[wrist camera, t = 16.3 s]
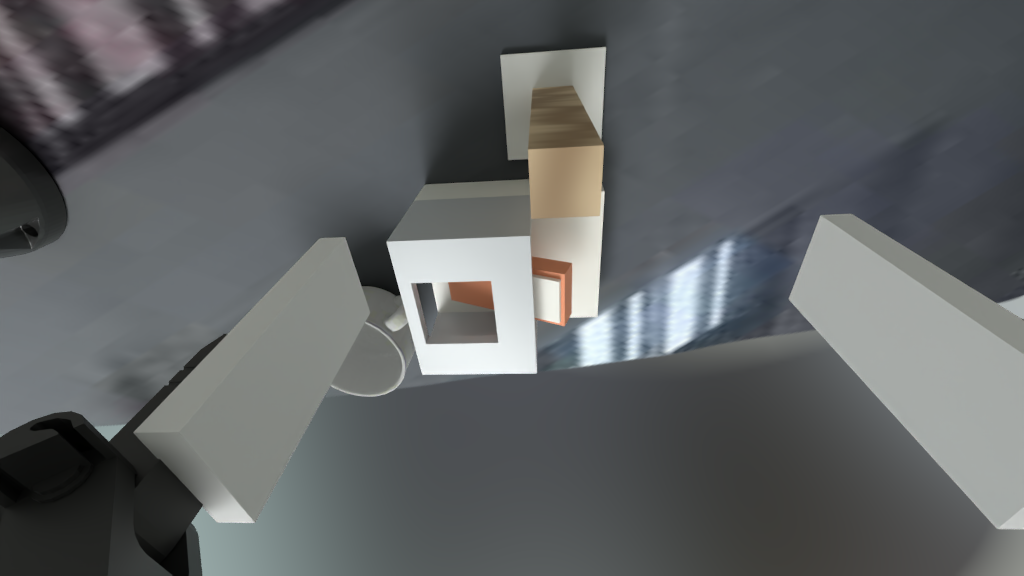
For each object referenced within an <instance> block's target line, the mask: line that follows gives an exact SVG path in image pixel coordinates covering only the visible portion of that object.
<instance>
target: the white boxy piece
mask: <svg viewBox="0 0 1024 576" xmlns="http://www.w3.org/2000/svg"><path fill="white" fill-rule="evenodd" d="M604 194H605V191H604V188H603V186H602V190H601V208H600V216H589V217H565V218H541V219H531V205H530V183H529V179H522V180H502V181H483V182H464V183H444V184H425V185H424V187H423V188H422V190H421V191H420V193H419V194H418V196H417V197H416V199H415V200H414V201H413V203H412V204H411V206H410V207H409V209H408V210H407V212H406V213H405V215H404V216H403V218H402V219H401V221H400V222H399V224H398V225H397V227H396V228H395V230H394V231H393V233H392V234H391V236H390V237H389V238H388V240H387V241H386V242H387V246H388V250H389V253H390V257H391V261H392V264H393V268H394V272H395V275H396V279H397V283H398V287H399V290H400V294H401V298H402V301H403V305H404V309H405V312H406V316H407V320H408V323H409V327H410V331H411V334H412V338H413V342H414V346H415V349H416V353H417V357H418V360H419V364H420V368H421V371H422V375H433V374H520V373H537V320H536V319H535V316H534V296H533V275H532V256H533V257H539V258H545V259H551V260H557V261H563V262H569V263H572V314H571V315H570V317H597V312H598V295H599V278H600V262H601V245H602V228H603V211H604ZM470 281H491V285H492V293H493V302H494V310H492V309H488V308H484V307H479V306H475V305H471V304H466V303H462V302H458V301H453V300H451V294H450V289H449V284H448V282H470ZM416 283H432V286H433V291H434V295H435V300H436V305H437V309H438V315H437V318H436V321H435V324H434V327H433V330H432V333H431V336H429V335H428V331H427V327H426V323H425V319H424V314H423V310H422V306H421V302H420V298H419V294H418V290H417V285H416ZM570 317H569V318H570Z"/></svg>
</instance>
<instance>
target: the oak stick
mask: <svg viewBox="0 0 1024 576" xmlns="http://www.w3.org/2000/svg"><path fill="white" fill-rule="evenodd" d="M603 154H604V144H603V142H602V140H601V139H600V137H599V135H598V133H597V131H596V129H595V127H594V125H593V123H592V121H591V119H590V117H589V116H588V114H587V112H586V110H585V108H584V106H583V104H582V102H581V100H580V98H579V96H578V94H577V93H576V91H575V89H574V87H573V86H559V87H545V88H532V101H531V115H530V128H529V142H528V162H529V183H530V205H531V219H541V218H565V217H589V216H600V208H601V190H602V172H603Z"/></svg>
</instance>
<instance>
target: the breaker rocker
mask: <svg viewBox="0 0 1024 576" xmlns="http://www.w3.org/2000/svg"><path fill="white" fill-rule="evenodd" d="M532 275H533V296H534V316H535V319H536V320H540V321H545V322H549V323H553V324H558V325H562V326H565V325H566V323H567V321H568V319H569V317H570V315H571V314H572V263H569V262H563V261H557V260H551V259H545V258H539V257H533V256H532ZM448 284H449V289H450V294H451V300H453V301H458V302H462V303H466V304H471V305H475V306H479V307H484V308H488V309H492V310H494V302H493V293H492V285H491V281H470V282H448Z"/></svg>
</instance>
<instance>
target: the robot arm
mask: <svg viewBox="0 0 1024 576" xmlns="http://www.w3.org/2000/svg"><path fill="white" fill-rule="evenodd" d="M66 221H67V215H66V209H65V205H64V201H63V199H62V196H61V194H60V192H59V190H58V188H57V186H56V184H55V183H54V181H53V179H52V178H51V176H50V175H49V174H48V172H47V171H46V170H45V168H44V167H43V166H42V165H41V163H40V162H39V161H38V160H37V159H36V158H35V157H34V155H33V154H32V153H31V152H30V151H29V150H28V149H27V148H25V147H24V146H23V145H22V144H21V143H20V142H19V141H18V140H17V139H15V138H14V137H13V136H12V135H11V134H9V133H8V132H7V131H5V130H4V129H3V128H1V127H0V258H5V257H11V256H17V255H23V254H26V253H30V252H32V251H35V250H37V249H39V248H41V247H44V246H46V245H48V244H50V243H52V242H54V241H56V240H57V239H58V238H59V237H60V236H61V235H62V234H63V232H64V230H65V227H66ZM789 300H790V301H791V302H792V304H793V305H794V306H795V307H796V308H797V309H798V310H799V311H800V312H801V313H802V315H803V316H804V317H805V318H806V319H807V320H808V321H809V322H810V323H811V324H812V326H813V327H814V328H815V329H816V330H817V331H818V332H819V333H820V334H821V335H822V336H823V338H825V340H826V341H827V342H828V343H829V344H830V345H831V346H832V348H833V349H834V350H835V351H836V352H837V353H838V354H839V355H840V356H841V357H842V359H843V360H844V361H845V362H846V363H847V364H848V365H849V366H850V367H851V369H852V370H853V371H854V372H855V373H856V374H857V375H858V376H859V377H860V378H861V380H863V382H864V383H865V384H866V385H867V386H868V387H869V388H870V389H871V390H872V392H873V393H874V394H875V395H876V396H877V397H878V398H879V399H880V400H881V402H882V403H883V404H884V405H885V406H886V407H887V408H888V409H889V410H890V411H891V413H892V414H893V415H894V416H895V417H896V418H897V419H898V420H899V421H900V422H901V423H902V425H903V426H904V427H905V428H906V429H907V430H908V431H909V432H910V433H911V435H912V436H913V437H914V438H915V439H916V440H917V441H918V442H919V443H920V444H921V446H922V447H923V448H924V449H925V450H926V451H927V452H928V453H929V454H930V455H931V457H932V458H933V459H934V460H935V461H936V462H937V463H938V464H939V465H940V466H941V468H942V469H943V470H944V471H945V472H946V473H947V474H948V475H949V476H950V477H951V479H952V480H953V481H954V482H955V483H956V484H957V485H958V486H959V487H960V488H961V490H962V491H963V492H964V493H965V494H966V495H967V496H968V497H969V498H970V499H971V501H972V502H973V503H974V504H975V505H976V506H977V507H978V508H979V509H980V510H981V512H982V513H983V514H984V515H985V516H986V517H987V518H988V519H989V520H990V522H991V523H992V524H993V525H994V526H995V527H996V528H997V529H1024V320H1023V319H1021V318H1019V317H1018V316H1016V315H1014V314H1013V313H1011V312H1009V311H1008V310H1006V309H1005V308H1003V307H1001V306H1000V305H998V304H997V303H995V302H993V301H992V300H990V299H988V298H987V297H985V296H984V295H982V294H980V293H979V292H977V291H976V290H974V289H972V288H971V287H969V286H967V285H966V284H964V283H963V282H961V281H959V280H958V279H956V278H954V277H953V276H951V275H950V274H948V273H946V272H945V271H943V270H941V269H940V268H938V267H937V266H935V265H933V264H932V263H930V262H929V261H927V260H925V259H924V258H922V257H920V256H919V255H917V254H916V253H914V252H912V251H911V250H909V249H907V248H906V247H904V246H903V245H901V244H899V243H898V242H896V241H894V240H893V239H891V238H890V237H888V236H886V235H885V234H883V233H881V232H880V231H878V230H877V229H875V228H873V227H872V226H870V225H869V224H867V223H865V222H864V221H862V220H860V219H859V218H857V217H856V216H854V215H852V214H836V215H821V216H820V219H819V221H818V224H817V226H816V229H815V232H814V234H813V237H812V240H811V242H810V245H809V247H808V250H807V253H806V255H805V258H804V261H803V263H802V266H801V268H800V271H799V274H798V276H797V279H796V281H795V284H794V287H793V289H792V292H791V295H790V297H789ZM369 314H370V310H369V307H368V304H367V301H366V298H365V295H364V292H363V289H362V286H361V283H360V280H359V277H358V274H357V271H356V268H355V265H354V262H353V259H352V256H351V253H350V250H349V247H348V244H347V241H346V238H345V237H337V238H320V239H319V240H318V241H317V242H316V243H315V244H314V245H313V246H312V247H311V248H310V249H309V250H308V251H307V252H306V253H305V254H304V255H303V256H302V257H301V258H300V259H299V260H298V261H297V263H296V264H295V265H294V266H293V267H292V268H291V269H290V270H289V271H288V272H287V273H286V274H285V275H284V276H283V277H282V278H281V279H280V280H279V281H278V282H277V283H276V284H275V285H274V286H273V288H272V289H271V290H270V291H269V292H268V293H267V294H266V295H265V296H264V297H263V298H262V299H261V300H260V301H259V302H258V303H257V304H256V305H255V306H254V307H253V308H252V309H251V310H250V311H249V313H248V314H247V315H246V316H245V317H244V318H243V319H242V320H241V321H240V322H239V323H238V324H237V325H236V326H235V327H234V328H233V329H232V330H231V331H230V332H229V333H228V334H224V335H222V336H221V337H219V338H218V339H216V340H215V341H213V342H212V343H210V344H208V345H207V346H205V347H204V348H202V349H201V350H200V351H199V352H198V353H197V354H196V355H195V356H194V357H193V358H192V359H191V360H190V361H189V362H188V363H187V364H186V365H185V366H184V370H180V371H179V372H178V373H177V374H176V375H175V376H174V377H173V378H172V379H171V380H170V381H169V385H167V386H164V387H163V388H162V389H161V390H160V391H159V392H158V393H157V394H156V395H155V396H154V397H153V398H152V399H151V400H150V401H149V402H148V403H147V404H146V405H145V406H144V407H143V408H142V409H141V410H140V411H139V412H138V413H137V414H136V415H135V416H134V417H133V418H132V419H131V420H130V421H129V422H128V423H127V424H126V425H125V426H124V427H123V428H122V429H121V430H120V431H119V432H118V433H117V434H116V435H115V436H114V437H113V438H112V439H111V440H110V441H109V442H108V441H107V440H106V439H105V438H104V437H103V436H102V435H101V434H100V433H99V432H98V431H97V430H96V429H95V428H94V427H93V426H92V425H91V424H90V423H89V422H88V421H87V420H86V419H85V418H84V417H83V416H82V415H80V414H78V413H75V412H72V411H70V412H61V413H53V414H50V415H47V416H44V417H41V418H38V419H35V420H32V421H30V422H28V423H26V424H24V425H22V426H20V427H18V428H15V429H13V430H11V431H9V432H8V433H6V434H5V435H3V436H2V437H0V576H202V567H201V558H200V547H199V537H198V533H197V531H196V529H195V527H194V526H193V525H192V524H191V522H192V520H193V519H194V517H195V516H196V515H197V513H198V512H199V510H200V509H201V507H203V508H204V509H205V510H206V511H207V512H208V513H209V514H210V515H211V516H212V517H213V518H214V519H215V520H216V522H217V523H255V522H256V520H257V518H258V516H259V514H260V513H261V511H262V509H263V507H264V506H265V504H266V502H267V500H268V498H269V497H270V495H271V493H272V491H273V489H274V487H275V486H276V484H277V482H278V480H279V478H280V476H281V475H282V473H283V471H284V469H285V467H286V465H287V464H288V462H289V460H290V458H291V456H292V454H293V453H294V451H295V449H296V447H297V445H298V444H299V442H300V440H301V438H302V436H303V434H304V432H305V431H306V429H307V427H308V425H309V424H310V422H311V420H312V418H313V416H314V414H315V412H316V411H317V409H318V407H319V405H320V403H321V402H322V400H323V398H324V396H325V394H326V392H327V391H328V389H329V387H330V385H331V383H332V382H333V380H334V378H335V376H336V374H337V372H338V371H339V369H340V367H341V365H342V363H343V361H344V360H345V358H346V356H347V354H348V352H349V351H350V349H351V347H352V345H353V343H354V341H355V340H356V338H357V336H358V334H359V332H360V330H361V329H362V327H363V325H364V323H365V321H366V319H367V318H368V316H369Z"/></svg>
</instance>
